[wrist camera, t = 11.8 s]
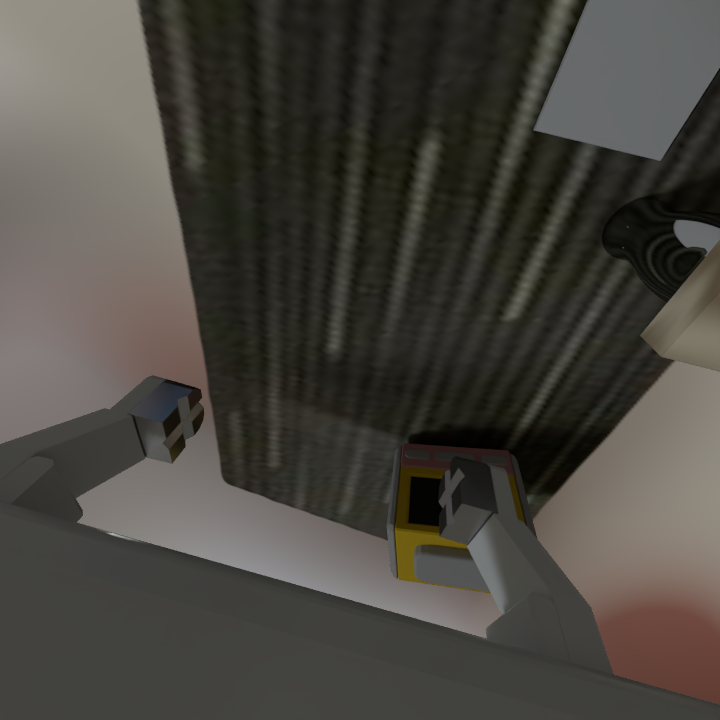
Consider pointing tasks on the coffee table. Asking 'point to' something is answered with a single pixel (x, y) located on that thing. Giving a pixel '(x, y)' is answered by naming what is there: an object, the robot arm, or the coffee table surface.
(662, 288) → the beer glass
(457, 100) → the coffee table surface
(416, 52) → the coffee table surface
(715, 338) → the birch lid
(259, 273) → the coffee table surface
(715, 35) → the grey mat
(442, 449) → the alarm clock
